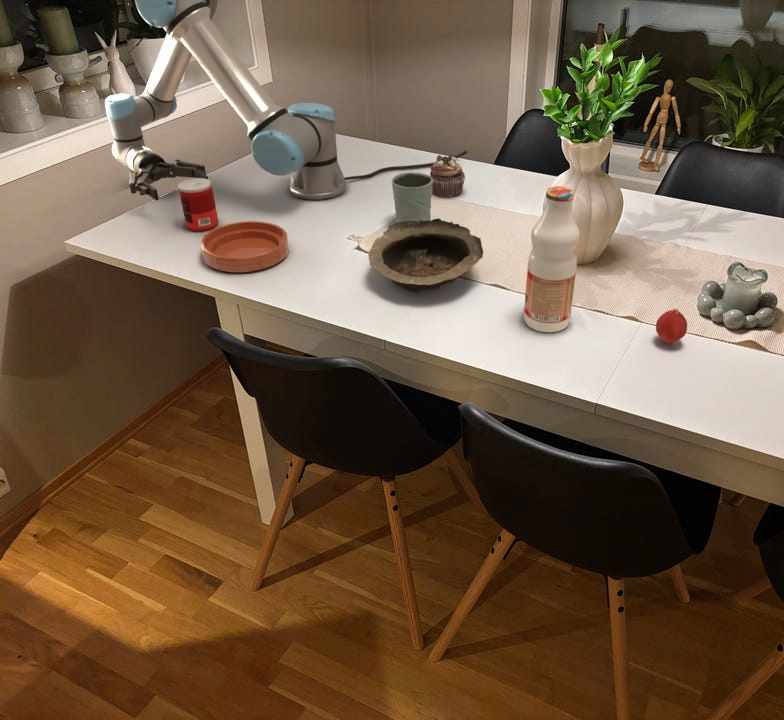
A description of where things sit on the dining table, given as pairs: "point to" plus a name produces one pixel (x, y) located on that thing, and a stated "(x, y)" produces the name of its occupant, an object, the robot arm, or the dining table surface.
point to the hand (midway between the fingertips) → (182, 188)
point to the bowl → (244, 246)
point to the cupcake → (447, 177)
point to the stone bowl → (425, 253)
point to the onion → (671, 326)
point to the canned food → (198, 204)
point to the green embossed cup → (412, 196)
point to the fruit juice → (552, 264)
